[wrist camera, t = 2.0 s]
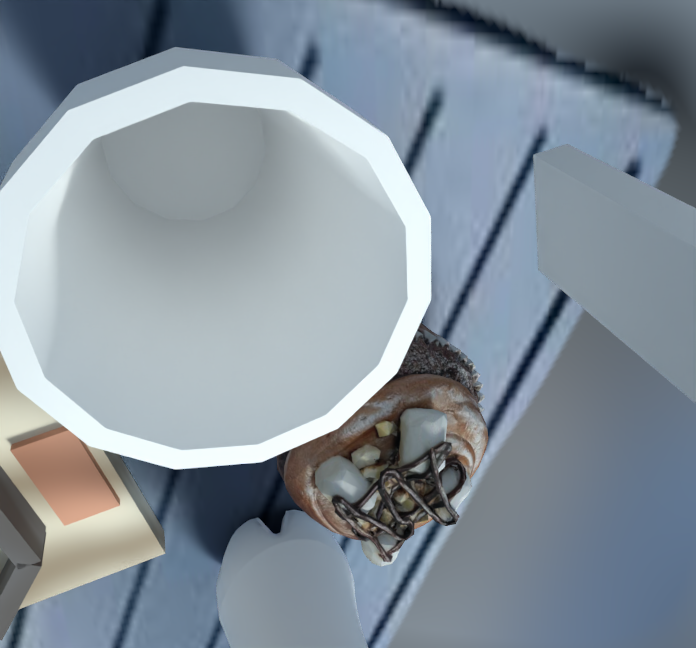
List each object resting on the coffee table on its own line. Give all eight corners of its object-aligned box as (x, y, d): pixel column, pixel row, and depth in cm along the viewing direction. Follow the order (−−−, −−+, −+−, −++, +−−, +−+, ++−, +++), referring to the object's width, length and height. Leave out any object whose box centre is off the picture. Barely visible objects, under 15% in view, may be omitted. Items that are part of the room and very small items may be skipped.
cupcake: (337, 470, 35) (400, 631, 27) (215, 374, 30) (247, 538, 22) (473, 362, 34) (582, 496, 26) (372, 240, 29) (469, 361, 21)
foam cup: (197, 295, 28) (240, 520, 17) (-7, 150, 23) (-127, 341, 12) (352, 132, 26) (507, 269, 15) (169, -62, 21) (210, -61, 10)
